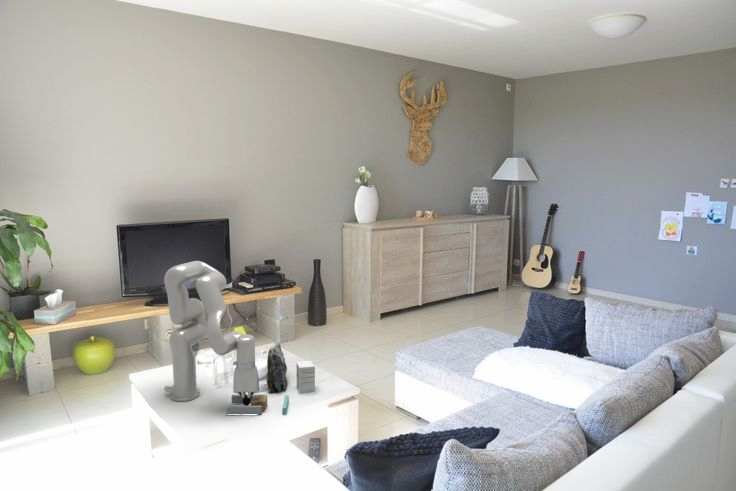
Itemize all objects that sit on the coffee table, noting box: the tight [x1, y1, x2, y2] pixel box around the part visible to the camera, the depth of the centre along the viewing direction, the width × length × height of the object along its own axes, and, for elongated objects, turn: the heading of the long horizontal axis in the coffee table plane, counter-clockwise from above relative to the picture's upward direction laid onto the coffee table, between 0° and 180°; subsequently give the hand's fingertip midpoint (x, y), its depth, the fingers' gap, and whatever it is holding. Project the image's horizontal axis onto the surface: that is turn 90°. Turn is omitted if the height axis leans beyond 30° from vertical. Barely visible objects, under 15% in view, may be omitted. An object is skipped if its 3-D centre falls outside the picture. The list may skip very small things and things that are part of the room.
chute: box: [226, 393, 266, 415], centre depth 219 cm, size 14×12×4 cm
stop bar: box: [281, 394, 290, 416], centre depth 220 cm, size 2×12×3 cm, turn 4°
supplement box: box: [296, 360, 316, 394], centre depth 238 cm, size 7×7×13 cm
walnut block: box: [250, 394, 268, 412], centre depth 219 cm, size 6×6×4 cm
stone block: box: [266, 341, 288, 394], centre depth 241 cm, size 18×9×20 cm, turn 3°
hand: (246, 405), depth 219 cm, fingers closed
